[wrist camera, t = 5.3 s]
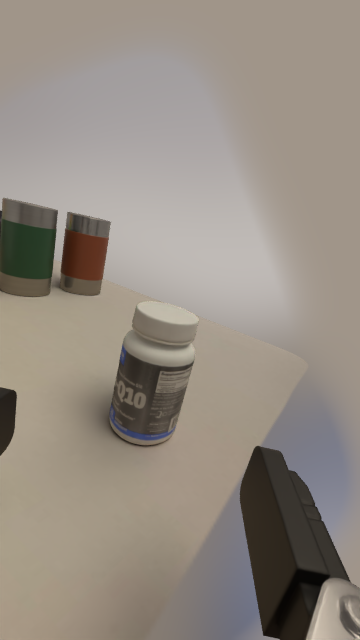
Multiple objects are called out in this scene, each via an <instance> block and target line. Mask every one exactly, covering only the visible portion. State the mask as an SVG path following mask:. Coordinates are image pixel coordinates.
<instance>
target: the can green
mask: <svg viewBox="0 0 360 640" xmlns="http://www.w3.org/2000/svg"><path fill="white" fill-rule="evenodd" d="M57 214H58V210H55V209H51V208H48V207H43V206H39V205H35V204H31V203H26V202H22V201H16V200H12V199H7V198H3V202H2V218H1V237H0V290H2V291H4V292H6V293H9V294H14V295H19V296H29V297H37V296H45V295H48V294H49V293H50V287H51V277H52V270H53V260H54V250H55V240H56V239H55V238H56V224H57Z"/></svg>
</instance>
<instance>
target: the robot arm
mask: <svg viewBox="0 0 360 640" xmlns="http://www.w3.org/2000/svg"><path fill="white" fill-rule="evenodd" d="M16 399H17V395H16V392H15V391H14V390H10V389H6V388H1V387H0V456H1V454H2V453H3V452H4V451H5V450H6V448H7V447H8V445H9V443H10V442H11V439H12V437H13V434H14V428H15V414H16ZM240 503H241V509H242V514H243V521H244V527H245V533H246V538H247V544H248V549H249V556H250V561H251V567H252V573H253V579H254V585H255V590H256V596H257V602H258V608H259V613H260V619H261V625H262V631H263V635H264V636H268V637H273V638H278V639H280V640H360V588H359V587H357V586H356V585H354V584H352V583H351V582H350V580H349V577H348V575H347V573H346V571H345V569H344V566H343V564H342V562H341V560H340V558H339V555H338V553H337V551H336V549H335V546H334V544H333V542H332V540H331V538H330V535H329V533H328V531H327V529H326V526H325V524H324V522H323V521H322V520H321V515H320V513H319V511H318V509H317V507H315V503H314V500H313V498H312V496H311V493H310V491H309V489H308V487H307V485H306V484H305V483H304V482H303V481H302V480H301V478H300V477H299V476H298V475H297V473H296V472H294V471H290V470H288V467H287V465H286V462H285V460H284V457H283V455H282V453H281V452H280V451H277V450H273V449H268V448H264V447H260V446H256V447H255V449H254V451H253V453H252V456H251V458H250V461H249V464H248V466H247V469H246V472H245V474H244V477H243V480H242V483H241V489H240Z"/></svg>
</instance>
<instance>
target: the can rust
mask: <svg viewBox="0 0 360 640" xmlns="http://www.w3.org/2000/svg"><path fill="white" fill-rule="evenodd" d="M110 223H111V222H110V221H106V220H102V219H98V218H94V217H90V216H85V215H81V214H76V213H72V212H68V213H67V221H66V229H65V236H64V246H63V255H62V264H61V278H60V288H61V289H62V290H64V291H67V292H70V293H74V294H80V295H97V294H99V293H100V290H101V284H102V279H103V273H104V266H105V260H106V253H107V246H108V240H109V230H110Z"/></svg>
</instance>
